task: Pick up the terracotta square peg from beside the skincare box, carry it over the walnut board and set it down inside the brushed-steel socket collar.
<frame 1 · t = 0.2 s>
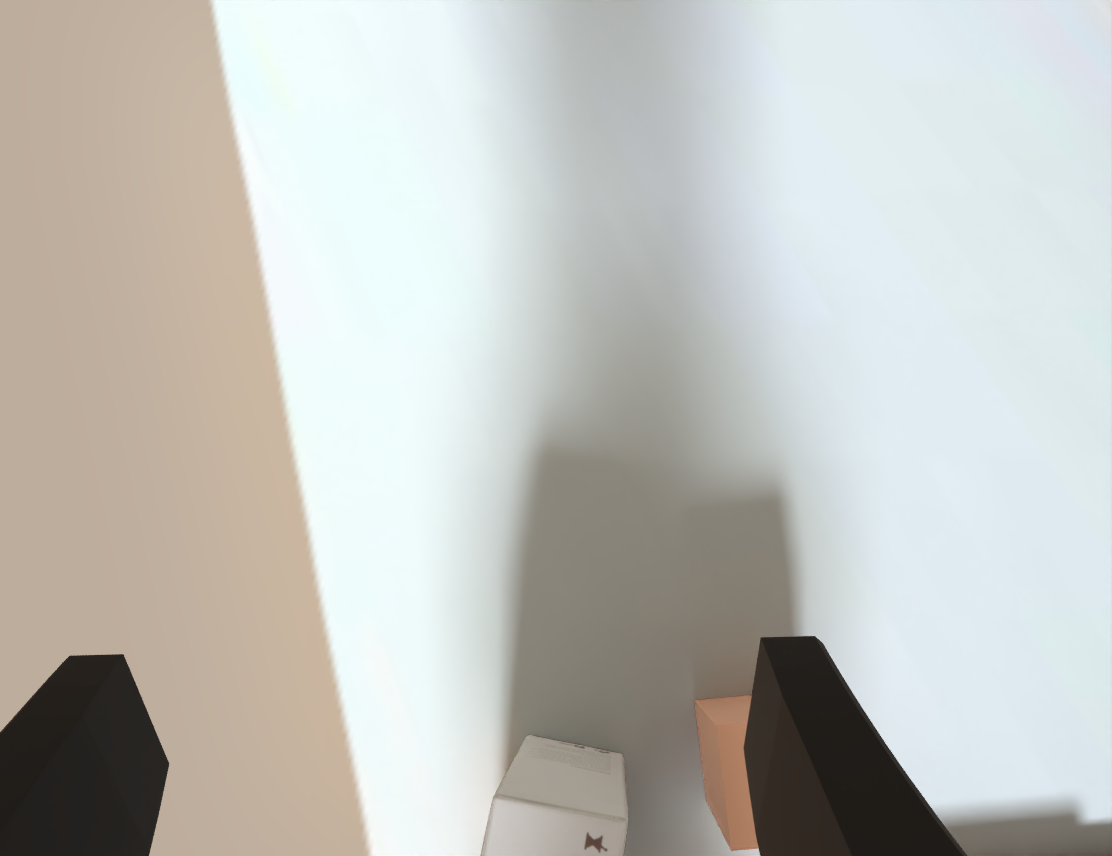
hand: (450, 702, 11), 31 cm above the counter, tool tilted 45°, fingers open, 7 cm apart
skincare box: (560, 816, 41), on the counter
peg: (748, 745, 41), on the counter
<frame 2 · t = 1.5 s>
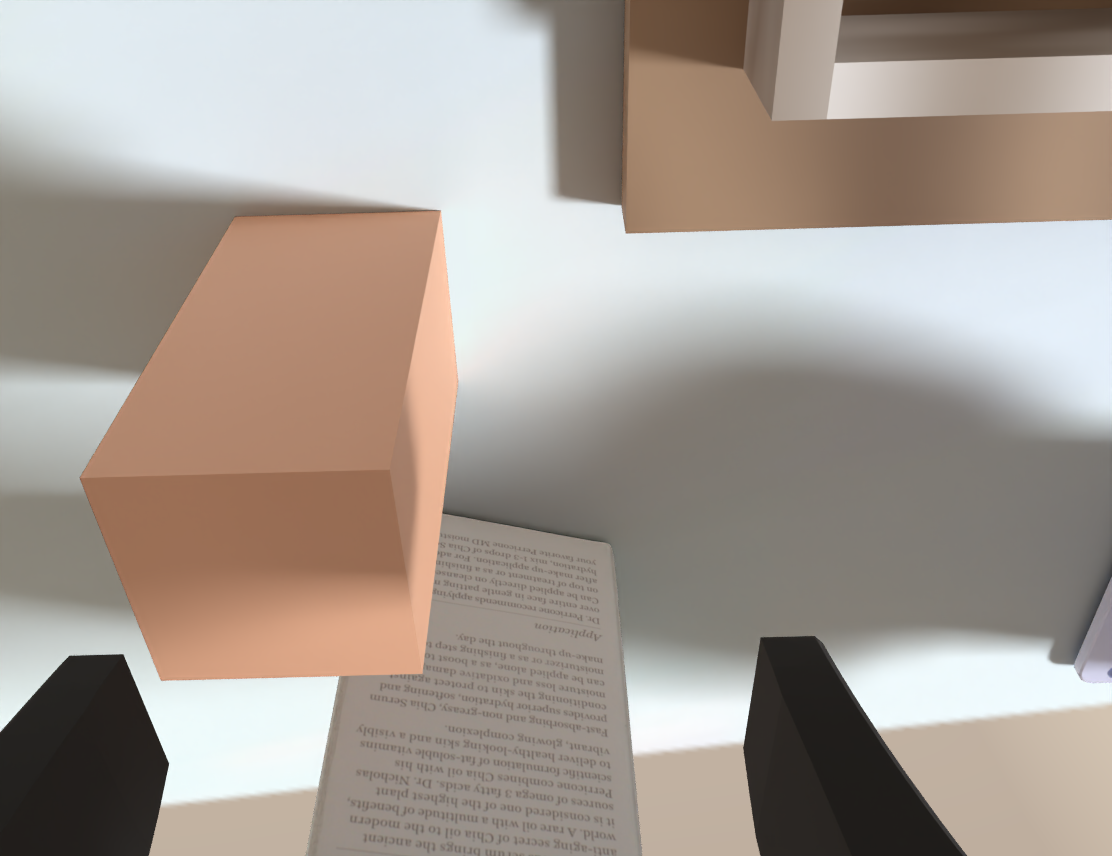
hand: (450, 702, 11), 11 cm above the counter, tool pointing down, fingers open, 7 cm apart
skincare box: (482, 572, 25), on the counter
peg: (353, 304, 20), on the counter
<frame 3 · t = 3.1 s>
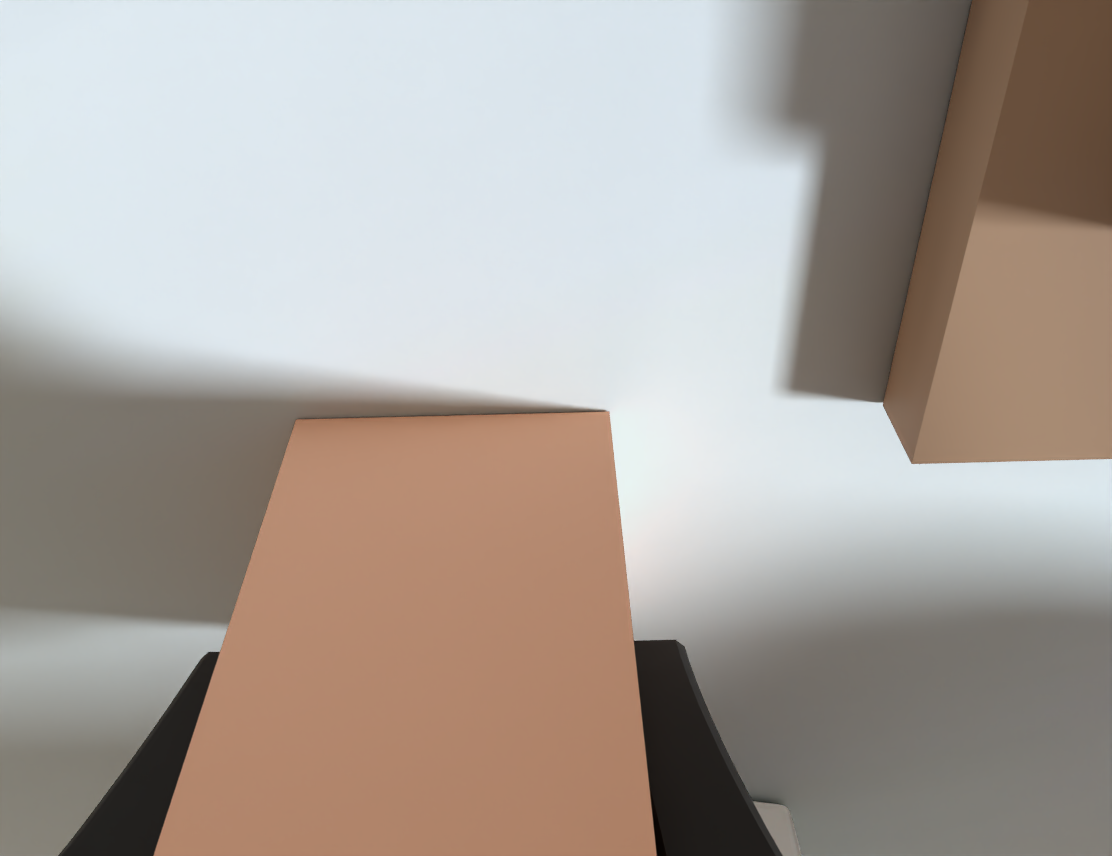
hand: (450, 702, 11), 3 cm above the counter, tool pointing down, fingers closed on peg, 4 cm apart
skincare box: (606, 831, 19), on the counter
peg: (464, 531, 14), on the counter, touching gripper
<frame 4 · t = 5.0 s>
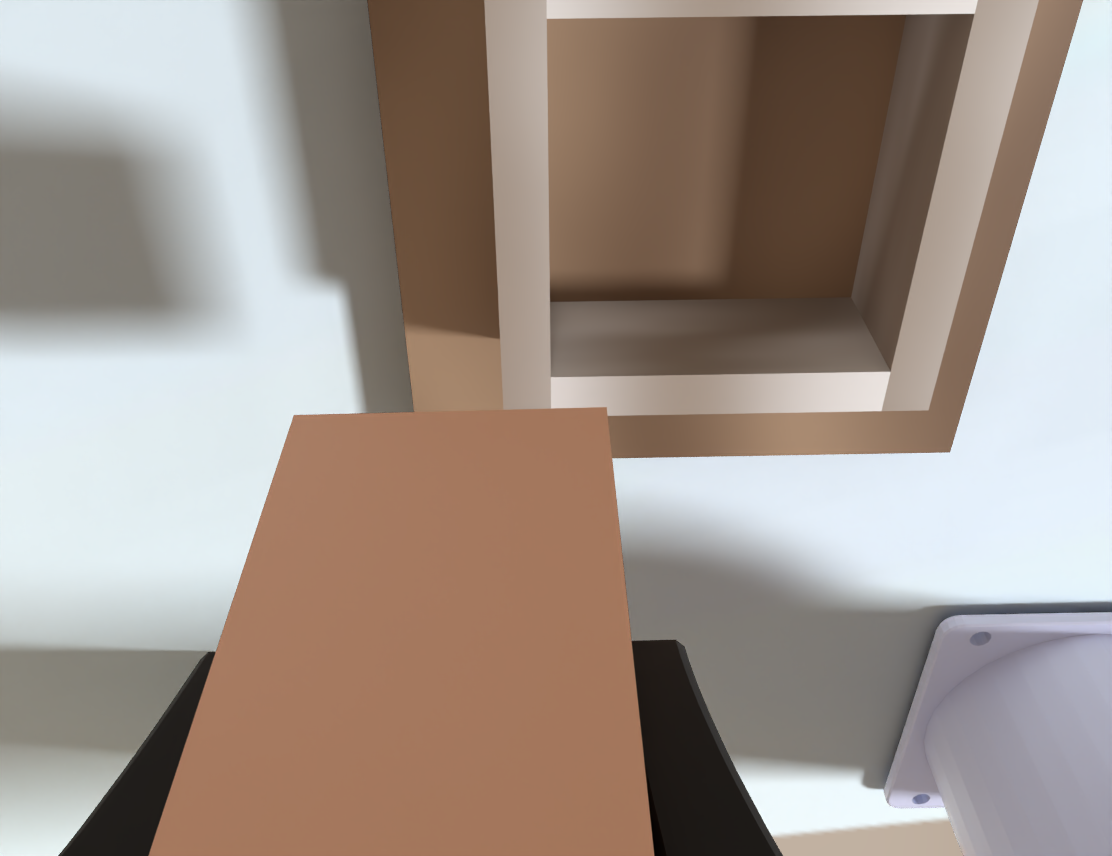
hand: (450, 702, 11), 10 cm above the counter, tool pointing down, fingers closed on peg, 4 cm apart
socket board: (703, 127, 18), on the counter
peg: (461, 527, 14), point 7 cm above the counter, touching gripper
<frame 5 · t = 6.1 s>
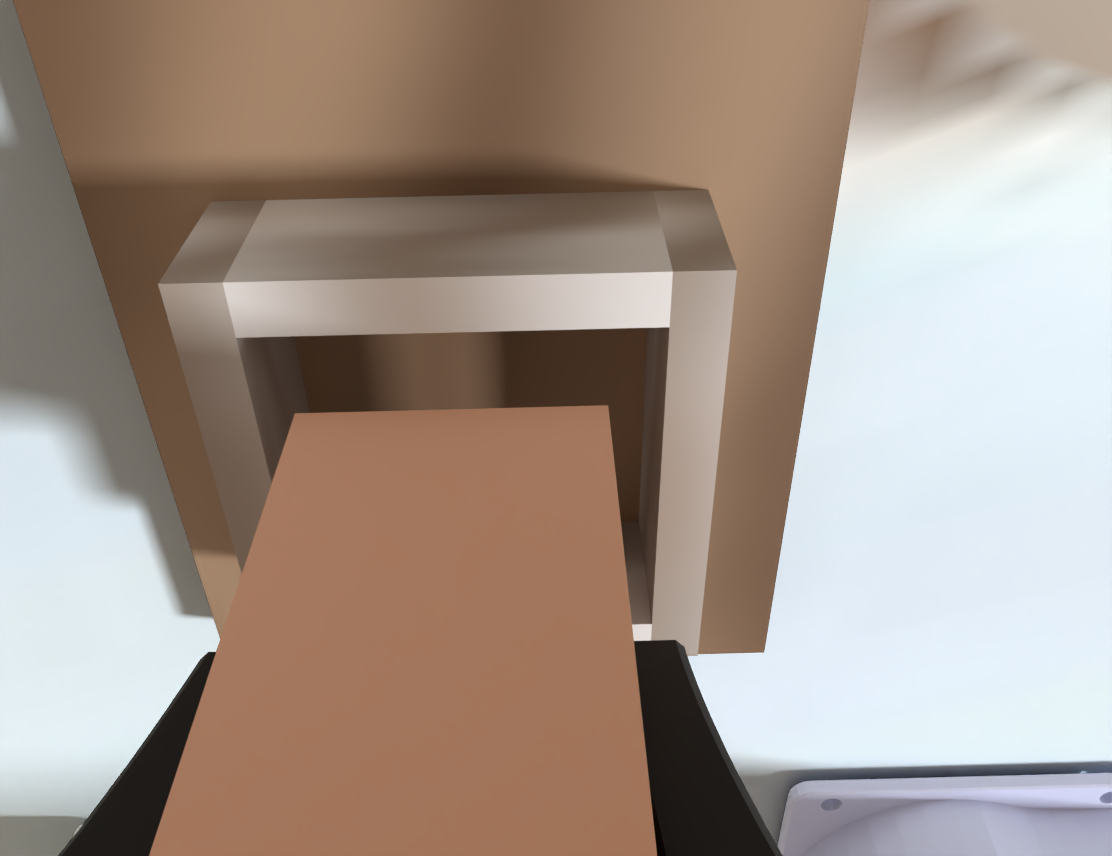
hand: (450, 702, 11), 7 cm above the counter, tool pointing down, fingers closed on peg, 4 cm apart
socket board: (479, 360, 17), on the counter
peg: (463, 525, 14), point 4 cm above the counter, touching gripper
when the fingers open (5 cm above the counter, at t = 7.0 s): peg stays where it is, resting on socket board.
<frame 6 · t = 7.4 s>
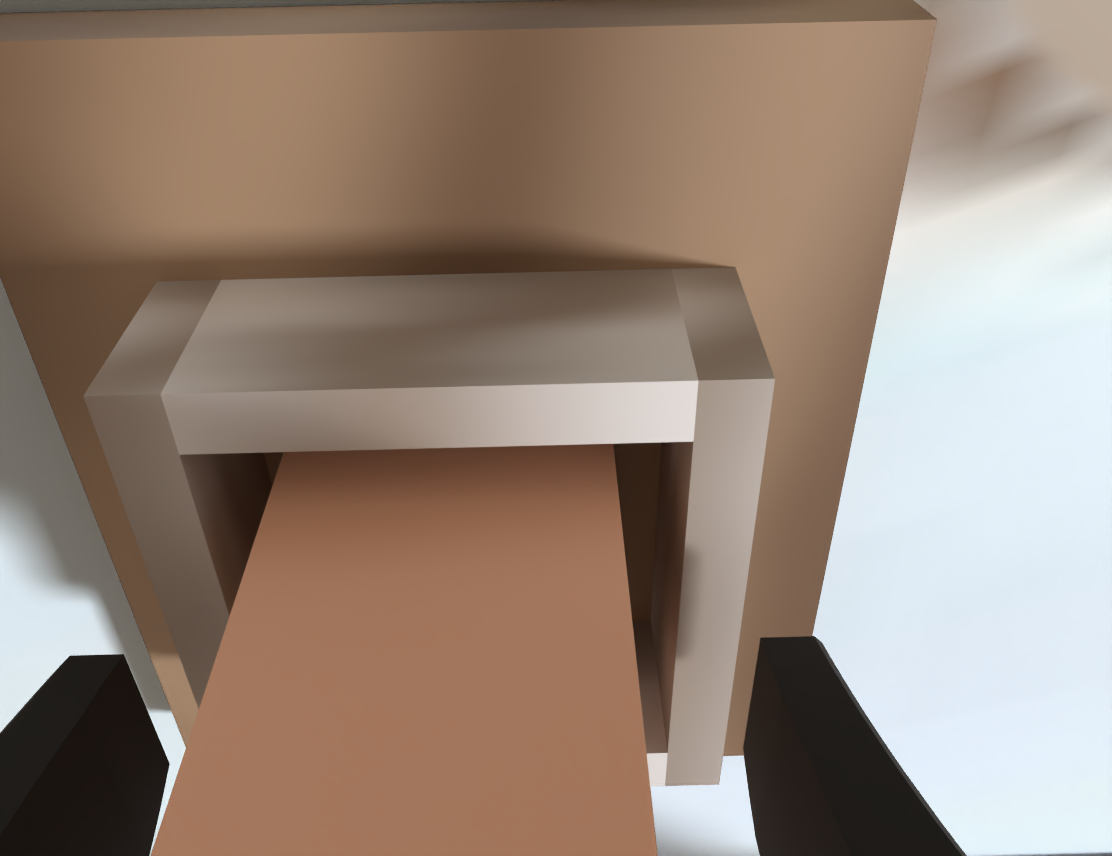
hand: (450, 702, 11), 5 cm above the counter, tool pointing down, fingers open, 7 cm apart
socket board: (471, 444, 15), on the counter
peg: (467, 491, 14), point 1 cm above the counter, touching socket board
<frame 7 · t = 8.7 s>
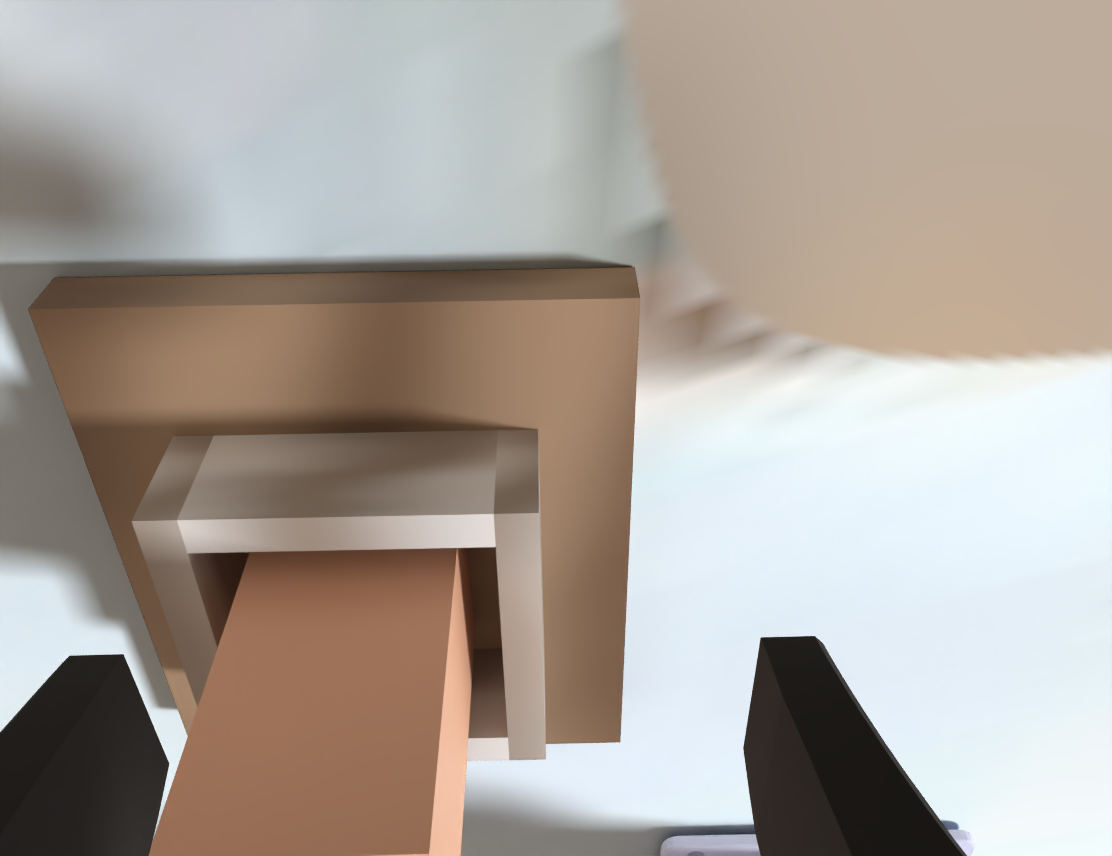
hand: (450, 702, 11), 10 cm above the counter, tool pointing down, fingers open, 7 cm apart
socket board: (384, 527, 23), on the counter
peg: (377, 562, 22), point 1 cm above the counter, touching socket board
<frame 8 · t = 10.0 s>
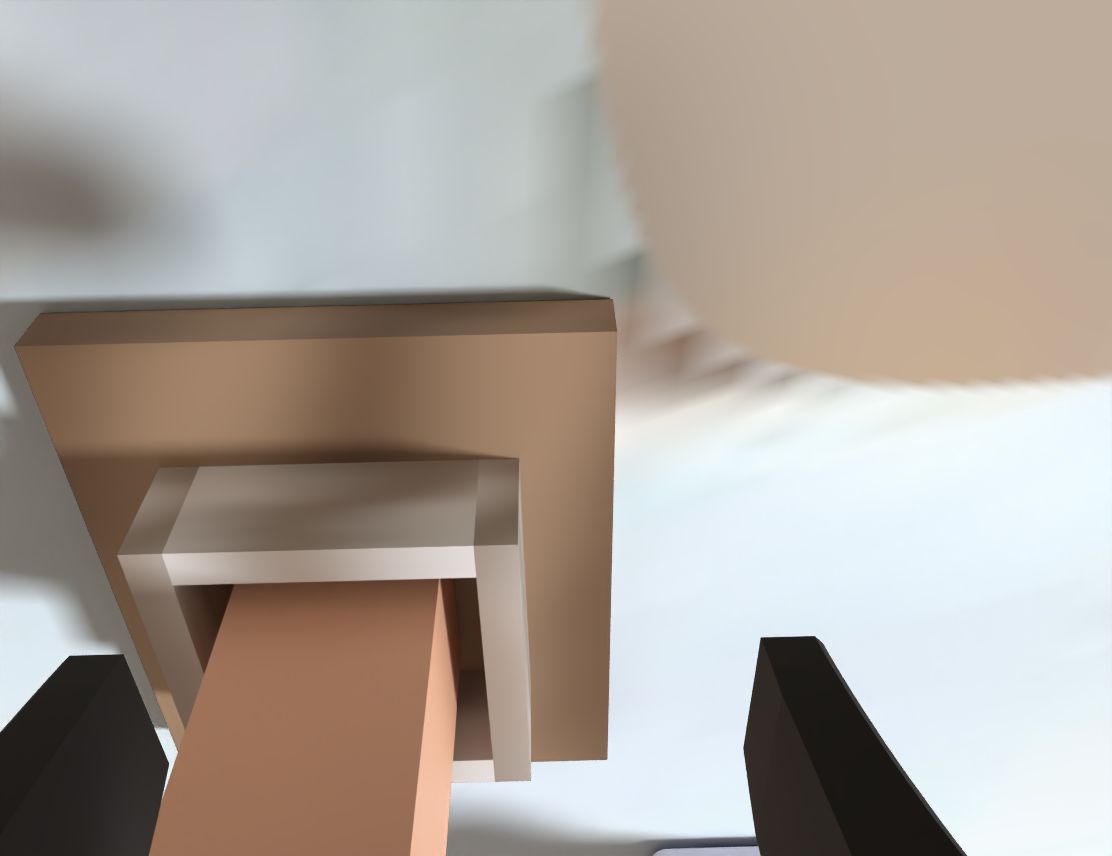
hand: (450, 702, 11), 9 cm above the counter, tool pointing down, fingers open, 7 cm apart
socket board: (370, 552, 23), on the counter
peg: (363, 587, 22), point 1 cm above the counter, touching socket board
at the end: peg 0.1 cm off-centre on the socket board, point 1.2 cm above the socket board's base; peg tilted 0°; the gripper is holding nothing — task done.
